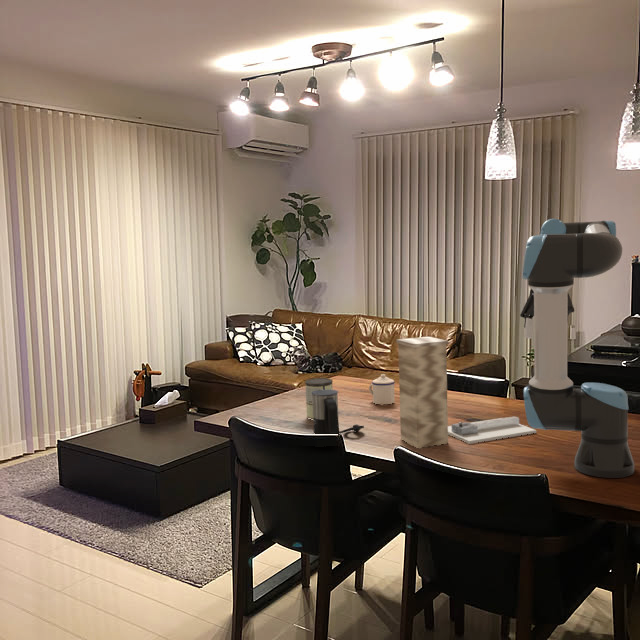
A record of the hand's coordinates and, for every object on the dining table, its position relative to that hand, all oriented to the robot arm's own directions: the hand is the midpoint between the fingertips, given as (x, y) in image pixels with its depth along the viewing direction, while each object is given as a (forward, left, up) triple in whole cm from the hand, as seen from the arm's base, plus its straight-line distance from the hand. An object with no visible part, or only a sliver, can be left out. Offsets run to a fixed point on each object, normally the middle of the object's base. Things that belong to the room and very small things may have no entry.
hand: (544, 336), depth 217 cm
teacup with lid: (+40, +58, -32) cm, 78 cm away
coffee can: (+15, +78, -32) cm, 86 cm away
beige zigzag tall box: (-13, +38, -32) cm, 52 cm away
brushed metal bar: (+1, +18, -31) cm, 36 cm away
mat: (0, +18, -32) cm, 37 cm away
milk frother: (-6, +68, -32) cm, 75 cm away
